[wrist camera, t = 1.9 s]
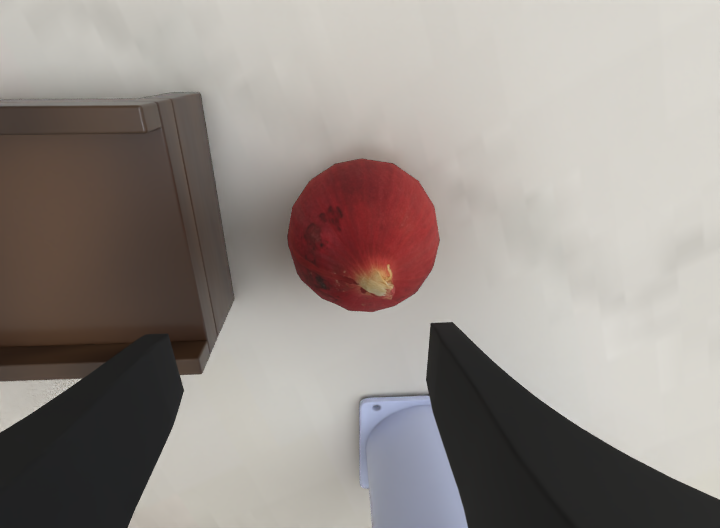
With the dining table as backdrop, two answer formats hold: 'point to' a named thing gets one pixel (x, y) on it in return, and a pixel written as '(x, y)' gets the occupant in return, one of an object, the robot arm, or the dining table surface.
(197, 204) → the shelf
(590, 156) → the dining table surface
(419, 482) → the robot arm
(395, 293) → the onion
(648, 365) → the dining table surface
